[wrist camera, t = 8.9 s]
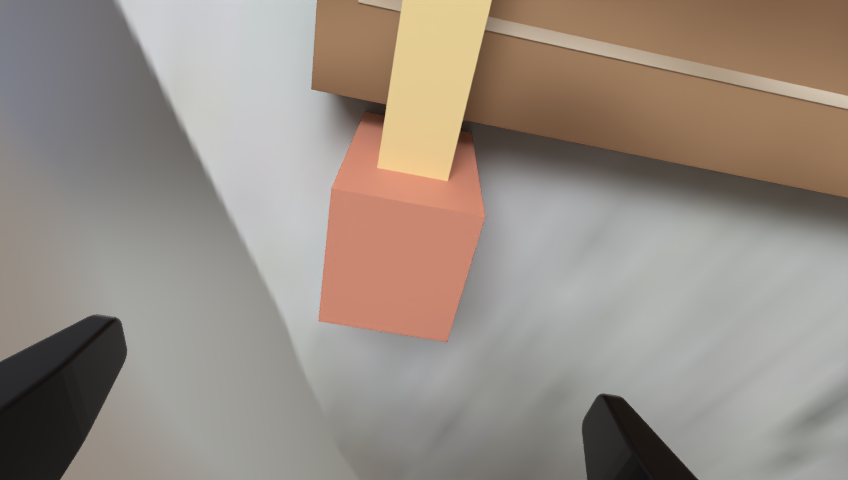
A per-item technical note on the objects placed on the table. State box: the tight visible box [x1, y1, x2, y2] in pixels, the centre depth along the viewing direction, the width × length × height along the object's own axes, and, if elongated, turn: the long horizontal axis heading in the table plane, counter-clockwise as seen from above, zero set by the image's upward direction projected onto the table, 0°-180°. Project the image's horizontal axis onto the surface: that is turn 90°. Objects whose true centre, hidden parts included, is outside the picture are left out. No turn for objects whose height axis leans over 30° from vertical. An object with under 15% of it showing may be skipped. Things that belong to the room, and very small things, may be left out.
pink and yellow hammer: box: [319, 0, 492, 342], centre depth 12 cm, size 13×4×6 cm, turn 169°
